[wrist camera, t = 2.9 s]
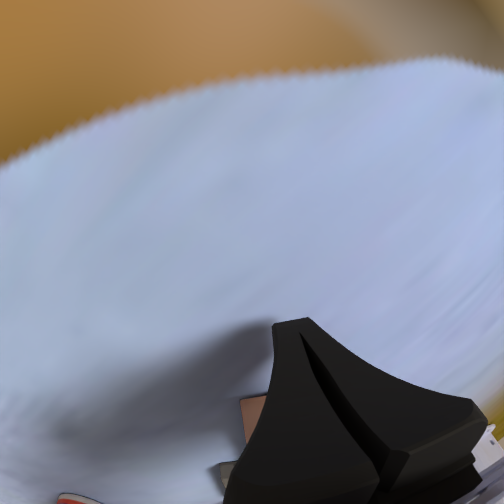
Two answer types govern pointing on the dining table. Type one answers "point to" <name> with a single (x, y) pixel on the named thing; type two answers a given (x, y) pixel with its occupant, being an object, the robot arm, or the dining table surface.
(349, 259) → the dining table surface
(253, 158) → the dining table surface
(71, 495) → the pill bottle
